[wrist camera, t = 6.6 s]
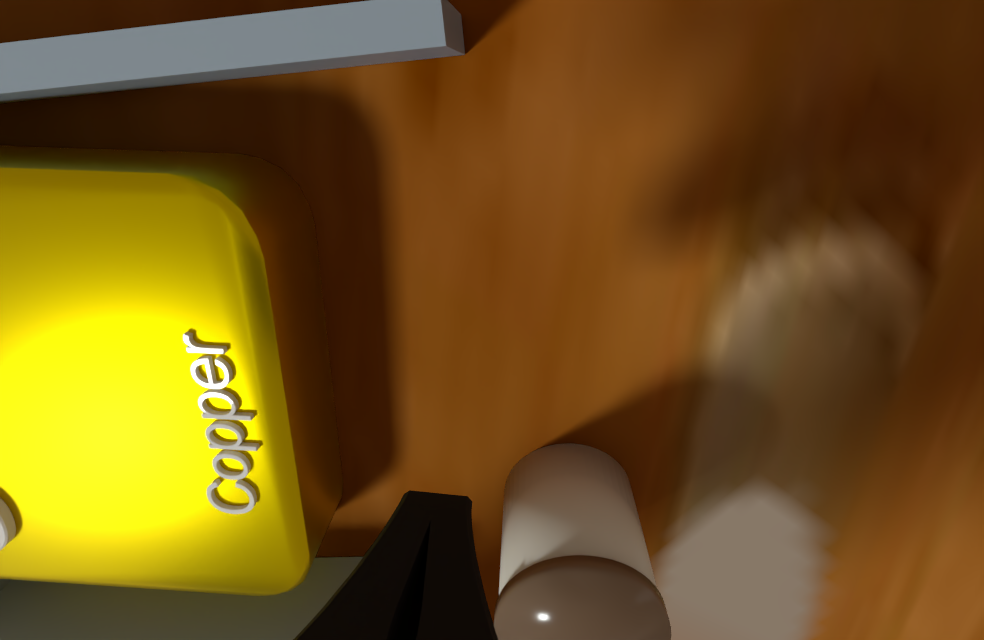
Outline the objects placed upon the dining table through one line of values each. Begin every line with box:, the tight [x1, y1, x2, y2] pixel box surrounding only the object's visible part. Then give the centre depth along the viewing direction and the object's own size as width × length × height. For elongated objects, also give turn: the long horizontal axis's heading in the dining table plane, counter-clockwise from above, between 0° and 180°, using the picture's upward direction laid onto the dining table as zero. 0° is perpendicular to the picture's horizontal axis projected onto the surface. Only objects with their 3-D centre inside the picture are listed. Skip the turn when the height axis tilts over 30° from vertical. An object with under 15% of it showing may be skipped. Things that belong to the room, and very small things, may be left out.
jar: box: [494, 443, 671, 640], centre depth 19 cm, size 5×5×6 cm
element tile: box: [0, 146, 343, 596], centre depth 18 cm, size 15×15×5 cm
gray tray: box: [0, 0, 465, 640], centre depth 18 cm, size 21×24×4 cm
